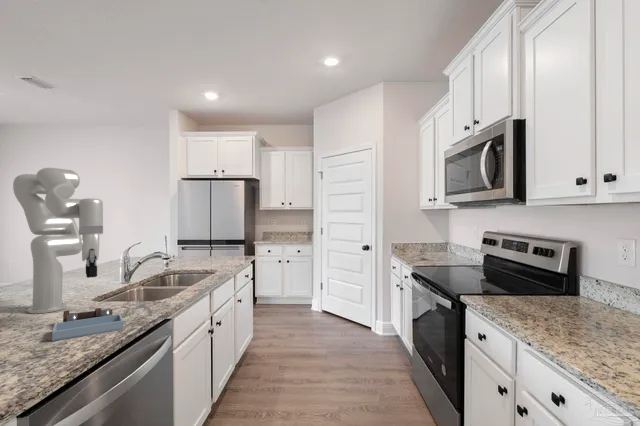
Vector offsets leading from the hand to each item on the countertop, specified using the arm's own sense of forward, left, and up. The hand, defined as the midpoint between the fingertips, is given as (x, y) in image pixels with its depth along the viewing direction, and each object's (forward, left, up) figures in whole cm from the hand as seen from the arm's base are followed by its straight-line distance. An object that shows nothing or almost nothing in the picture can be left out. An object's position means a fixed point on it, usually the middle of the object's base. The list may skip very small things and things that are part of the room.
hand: (91, 275), depth 122 cm
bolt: (0, -1, -18) cm, 18 cm away
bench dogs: (+5, 0, -17) cm, 18 cm away
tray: (+13, 0, -17) cm, 22 cm away
